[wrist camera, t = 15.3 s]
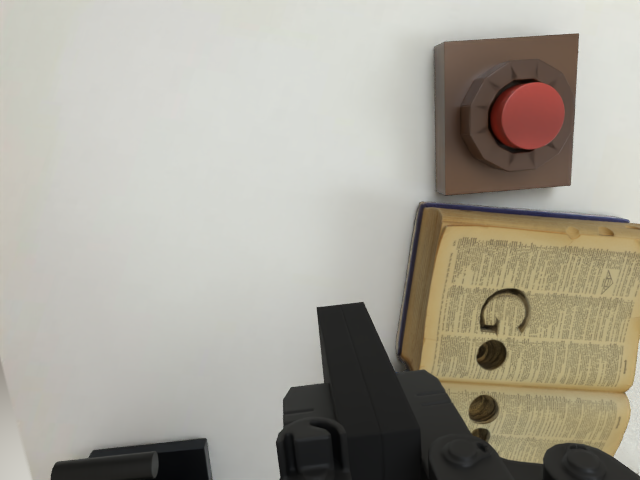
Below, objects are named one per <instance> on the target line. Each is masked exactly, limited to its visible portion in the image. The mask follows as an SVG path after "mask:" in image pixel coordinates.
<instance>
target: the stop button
mask: <svg viewBox="0 0 640 480" xmlns="http://www.w3.org/2000/svg"><path fill="white" fill-rule="evenodd" d="M564 116H565V109H564V104H563V100H562V98H561V96H560V95H559V93H558V92H557V91H556V90H555V89H554V88H553V87H551V86H549V85H547V84H545V83H540V82H532V83H526V84H519V85H515V86H512V87H510V88H508V89H506V90H505V91H504V92H503V93H502V94H501V95H500V96H499V97H498V98H497V100H496V101H495V103H494V105H493V108H492V111H491V117H490V121H491V128H492V131H493V133H494V135H495V136H496V138H497V139H498V140H499V141H500V142H501V143H502V144H504V145H506V146H508V147H512V148H519V149H537V148H540V147H543V146H545V145H547V144H548V143H549V142H551V141H552V140H553V139H554V138H555V137H556V136H557V134H558V133H559V131H560V129H561V127H562V125H563V121H564Z"/></svg>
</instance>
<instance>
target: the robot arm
mask: <svg viewBox="0 0 640 480" xmlns="http://www.w3.org/2000/svg"><path fill="white" fill-rule="evenodd" d="M317 315H318V325H319V335H320V345H321V355H322V365H323V375H324V383H322V384H314V385H306V386H298V387H291V388H290V390H289V391H288V393H287V394H286V396H285V397H284V399H283V424H284V426H283V429H282V431H281V432H280V433H279V434H278V437H277V441H276V446H277V454H278V462H279V469H280V477H281V478H280V480H640V476H639V475H637V474H636V473H635V472H633V471H632V470H630V469H629V468H628V467H626V466H625V465H623V464H622V463H621V462H619V461H618V460H616V459H615V458H614V457H612V456H611V455H609V454H607V453H605V452H603V451H602V450H600V449H598V448H595V447H591V446H588V445H585V444H579V443H562V444H556V445H554V446H552V447H551V448H549V449H547V451H546V453H545V455H544V457H543V464H540V463H530V462H520V461H514V460H508V459H505V458H502V457H500V456H499V455H498V453H497V452H496V450H495V449H494V448H493V447H492V446H491V445H490V444H489V443H488V442H486V441H484V440H482V439H480V438H478V437H476V436H473V435H472V434H471V432H470V430H469V429H468V427H467V425H466V424H465V422H464V420H463V419H462V417H461V415H460V414H459V412H458V410H457V409H456V407H455V406H454V404H453V403H452V402H451V399H450V397H449V396H448V394H447V393H446V392H445V389H444V387H443V386H442V384H441V382H440V381H439V379H438V378H437V377H435V376H434V375H432V374H430V373H429V372H427V371H426V370H424V369H423V370H415V371H407V372H399V373H395V371H394V369H393V367H392V364H391V362H390V360H389V358H388V355H387V353H386V351H385V349H384V347H383V344H382V342H381V340H380V338H379V336H378V333H377V331H376V329H375V327H374V324H373V322H372V320H371V318H370V316H369V313H368V311H367V309H366V307H365V304H364V302H359V303H351V304H342V305H333V306H325V307H317Z"/></svg>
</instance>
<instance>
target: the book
mask: <svg viewBox="0 0 640 480" xmlns="http://www.w3.org/2000/svg"><path fill="white" fill-rule="evenodd" d="M639 339H640V224H635V223H629V220H627V219H623V218H619V217H613V216H603V215H589V214H579V213H568V212H552V211H541V210H529V209H517V208H504V207H489V206H478V205H466V204H454V203H436V202H420V203H419V208H418V212H417V216H416V221H415V227H414V233H413V238H412V245H411V252H410V256H409V262H408V269H407V277H406V283H405V289H404V296H403V303H402V308H401V314H400V321H399V329H398V332H397V340H396V351H397V355H398V358H399V360H400V361H401V362H403V363H404V364H405V365H406V366H407V370H405V371H404V372H407V371H415V370H423V369H424V370H426V371H427V372H429V373H430V374H432V375H434V376H435V377H437V378H438V379H439V381H440V382H441V384H442V386H443V387H444V389H445V392H446V393H447V394H448V396H449V397H450V399H451V402H452V403H453V404H454V406H455V407H456V409H457V410H458V412H459V414H460V415H461V417H462V419H463V420H464V422H465V424H466V425H467V427H468V429H469V430H470V432H471V434H472V435H473V436H476V437H478V438H480V439H482V440H484V441H486V442H488V443H489V444H490V445H491V446H492V447H493V448H494V449H495V450H496V452H497V453H498V455H499V456H500V457H502V458H505V459H508V460H514V461H520V462H530V463H540V464H543V457H544V455H545V453H546V451H547V449H549V448H551V447H552V446H554V445H556V444H562V443H579V444H585V445H588V446H591V447H595V448H598V449H600V450H602V451H603V452H605V453H607V454H609V455H611V456H612V457H613V456H614V454H615V453H616V450H617V449H618V447H619V445H620V443H621V441H622V438H623V435H624V432H625V430H626V428H627V425H628V422H629V419H630V412H631V409H630V404H629V400H628V398H627V396H626V394H625V392H626V391H627V390H629V388H630V387H631V386H632V385H633V381H634V376H635V370H636V361H637V351H638V343H639Z"/></svg>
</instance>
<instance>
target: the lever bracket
mask: <svg viewBox="0 0 640 480" xmlns="http://www.w3.org/2000/svg"><path fill="white" fill-rule="evenodd" d="M152 451H156V452H157V455H158V472H157V476H156V477H155V478H154V479H145V480H212V474H211V467H210V460H209V453H208V446H207V439H206V438H205V439H196V440H186V441H177V442H168V443H158V444H149V445H139V446H130V447H121V448H111V449H102V450H93V451H92V453H91V454H90V456H89V458H96V457H105V456H115V455H124V454H133V453H143V452H152Z"/></svg>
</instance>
